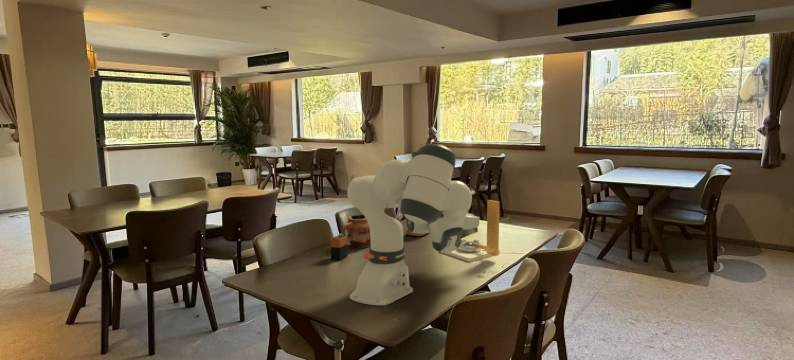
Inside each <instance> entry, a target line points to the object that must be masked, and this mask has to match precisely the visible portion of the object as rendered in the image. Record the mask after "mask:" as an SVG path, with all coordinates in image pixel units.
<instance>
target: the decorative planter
mask: <svg viewBox="0 0 794 360" xmlns="http://www.w3.org/2000/svg"><path fill="white" fill-rule="evenodd" d="M345 231H346V233H345ZM341 234H343V235H344V236H347V241H349V243H350V246H351V247H353V248H358V249H360V248H361V249H362V248H367V247H368V248H369V247H371V240H370V229H369V225H368V222H367V220H366V218H365V216H364V215H363V214H357V215H352V216H351V215H350V216H349V217H348V220H347V222H346V223H345V224H343V225H342V227H341ZM346 234H347V235H346Z"/></svg>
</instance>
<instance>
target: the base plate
mask: <svg viewBox="0 0 794 360" xmlns="http://www.w3.org/2000/svg"><path fill="white" fill-rule="evenodd" d="M443 254H445V255H447V256H451V257H454V258H455V259H456V258H457V259H459V260H462V261H464V262H468V263H472V262H475V261H479V260H482V259H487V258H491V257H493V256H494V255H491V254H487V250H484V249H481V251H479V252H462V251H459V250H458V249H456V250H455V251H452V252H449V253H443ZM500 254H501V253H500V250H499V251H498V255H500Z"/></svg>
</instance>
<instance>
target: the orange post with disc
mask: <svg viewBox="0 0 794 360" xmlns="http://www.w3.org/2000/svg"><path fill="white" fill-rule="evenodd" d="M500 202H501V201H498V200H492V199H487V202H486V203H487V206H486V208H487V210H486V211H487V213H486V245H483V244H481V243H480V240H478V239H474V240H472V241H467V240H466V239H464V238H461V241H462V243H461V245H460V246H459V248H458V250H459V251H462V252H479V251H481V249H484V250H487V254H491V255H494V256H495V257H497V256H499V254H498V251H499V247H500V241H499V237H500Z"/></svg>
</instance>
